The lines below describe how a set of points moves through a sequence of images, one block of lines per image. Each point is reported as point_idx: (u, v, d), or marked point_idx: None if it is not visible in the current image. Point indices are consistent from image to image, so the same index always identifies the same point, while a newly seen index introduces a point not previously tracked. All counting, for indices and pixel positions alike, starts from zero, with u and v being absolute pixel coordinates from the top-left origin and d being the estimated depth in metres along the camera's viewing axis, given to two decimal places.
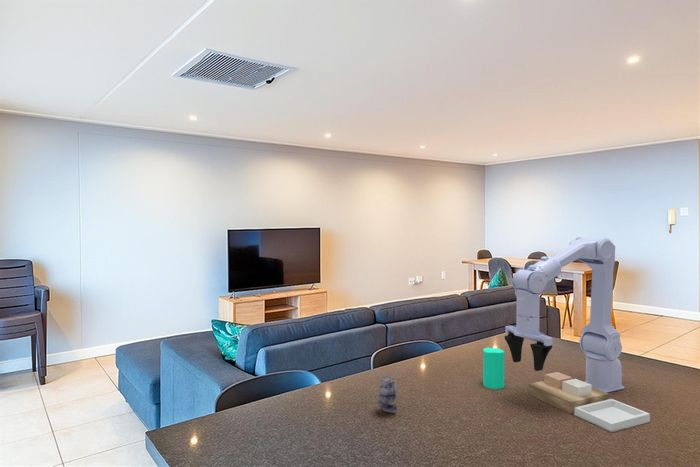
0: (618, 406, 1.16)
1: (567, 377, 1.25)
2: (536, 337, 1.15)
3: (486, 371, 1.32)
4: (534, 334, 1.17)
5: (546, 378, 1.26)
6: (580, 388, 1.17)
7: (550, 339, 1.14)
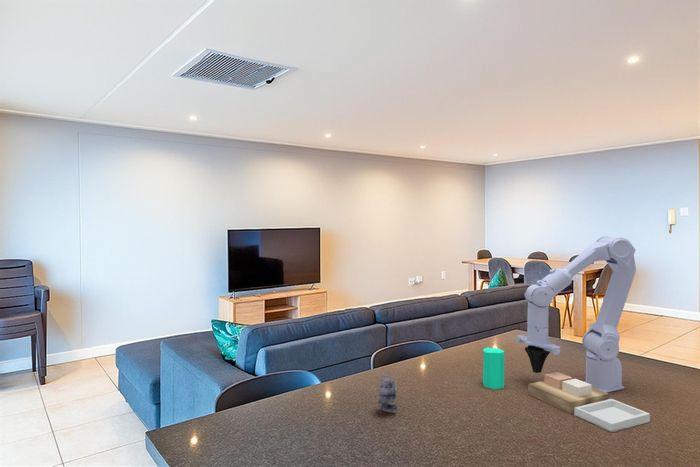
0: (618, 406, 1.16)
1: (567, 377, 1.25)
2: (545, 346, 1.28)
3: (486, 371, 1.32)
4: (543, 343, 1.30)
5: (546, 378, 1.26)
6: (580, 388, 1.17)
7: (558, 348, 1.26)
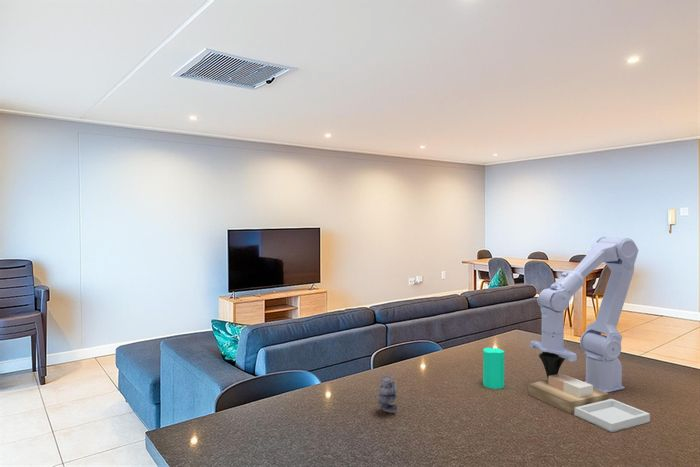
0: (618, 406, 1.16)
1: (571, 379, 1.23)
2: (561, 353, 1.23)
3: (486, 371, 1.32)
4: (559, 350, 1.25)
5: (550, 380, 1.25)
6: (581, 388, 1.17)
7: (574, 355, 1.21)
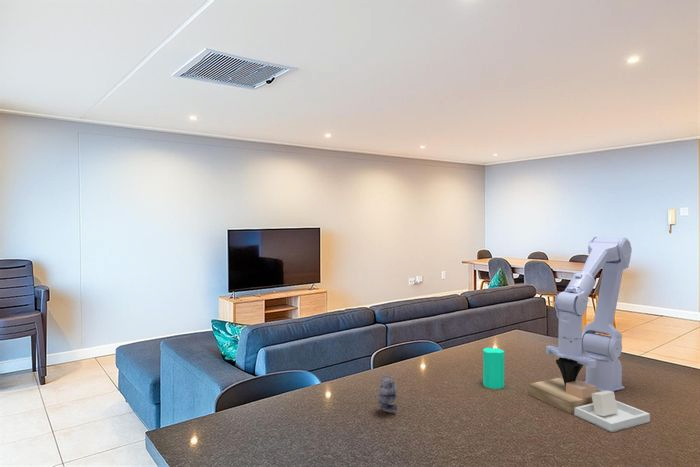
0: (618, 406, 1.16)
1: (590, 386, 1.18)
2: (580, 359, 1.17)
3: (486, 371, 1.32)
4: (577, 356, 1.19)
5: (568, 387, 1.20)
6: None
7: (594, 361, 1.16)
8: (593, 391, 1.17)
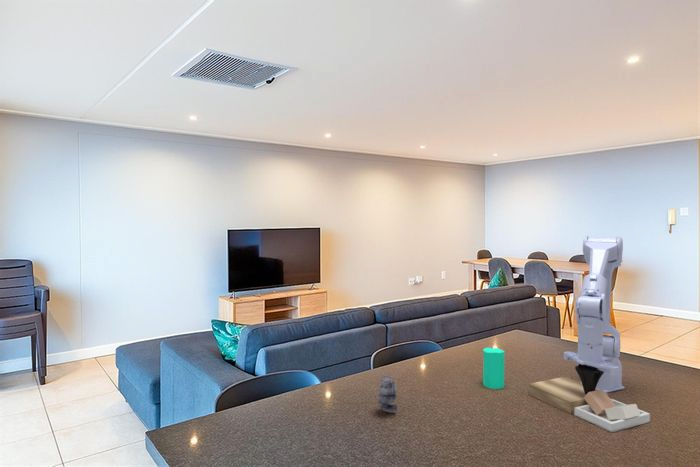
0: None
1: (611, 405, 1.13)
2: (601, 366, 1.12)
3: (486, 371, 1.32)
4: (598, 362, 1.14)
5: (588, 396, 1.14)
6: None
7: (617, 368, 1.10)
8: None
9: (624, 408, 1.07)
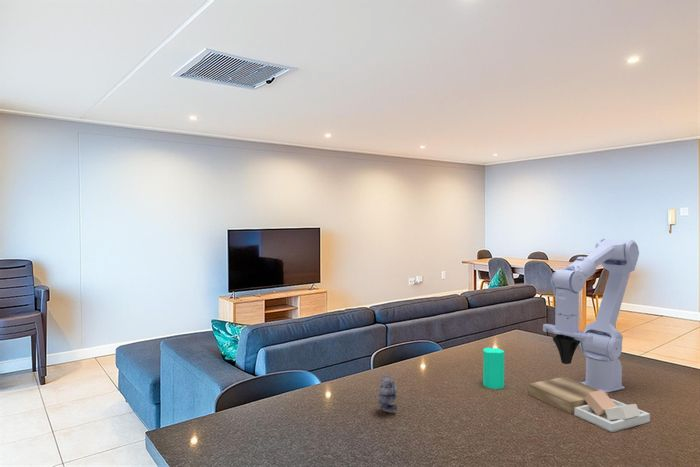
0: None
1: (612, 405, 1.13)
2: (576, 335, 1.18)
3: (486, 371, 1.32)
4: (574, 332, 1.20)
5: (588, 397, 1.14)
6: None
7: (591, 337, 1.17)
8: None
9: (624, 408, 1.07)
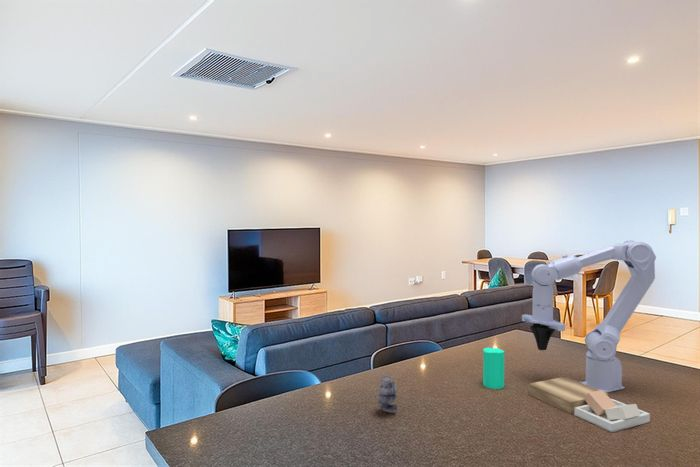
0: None
1: (612, 405, 1.13)
2: (550, 323, 1.31)
3: (486, 371, 1.32)
4: (548, 321, 1.33)
5: (588, 397, 1.14)
6: None
7: (563, 325, 1.29)
8: None
9: (624, 408, 1.07)
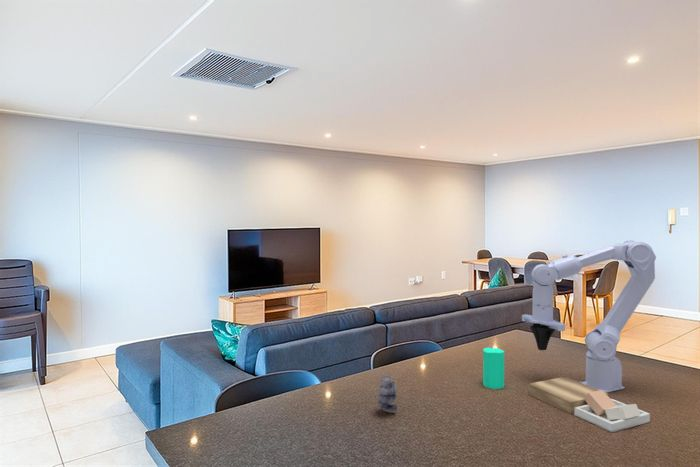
0: None
1: (612, 405, 1.13)
2: (550, 323, 1.31)
3: (486, 371, 1.32)
4: (548, 321, 1.33)
5: (588, 397, 1.14)
6: None
7: (563, 325, 1.29)
8: None
9: (624, 408, 1.07)
